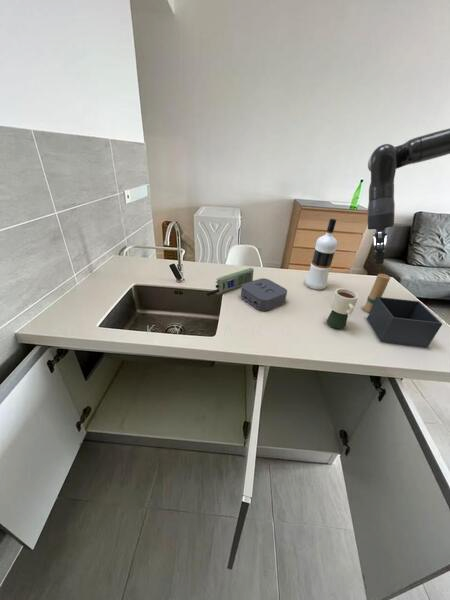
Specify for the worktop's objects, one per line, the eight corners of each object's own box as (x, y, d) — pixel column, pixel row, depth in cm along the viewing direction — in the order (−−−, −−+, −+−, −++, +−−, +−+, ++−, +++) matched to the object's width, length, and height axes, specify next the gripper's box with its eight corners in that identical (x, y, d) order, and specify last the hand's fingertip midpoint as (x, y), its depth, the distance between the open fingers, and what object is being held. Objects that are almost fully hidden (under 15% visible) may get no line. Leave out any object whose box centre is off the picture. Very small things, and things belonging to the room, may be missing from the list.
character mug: (352, 334, 82) (366, 302, 75) (332, 334, 81) (344, 302, 75) (338, 316, 91) (348, 285, 84) (319, 316, 91) (329, 285, 84)
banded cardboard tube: (372, 308, 97) (387, 274, 90) (377, 314, 94) (393, 279, 86) (361, 306, 98) (375, 272, 90) (365, 312, 94) (380, 278, 86)
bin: (407, 323, 89) (419, 301, 84) (427, 347, 78) (442, 323, 73) (366, 318, 91) (376, 296, 86) (381, 341, 79) (393, 318, 74)
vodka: (300, 281, 114) (316, 216, 99) (317, 280, 117) (335, 215, 101) (312, 291, 107) (331, 222, 91) (330, 289, 109) (351, 221, 94)
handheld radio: (253, 282, 111) (209, 298, 97) (248, 280, 113) (204, 295, 99) (254, 269, 108) (209, 283, 94) (249, 267, 110) (204, 280, 96)
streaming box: (288, 302, 98) (290, 291, 95) (262, 313, 90) (263, 301, 88) (263, 287, 108) (264, 277, 105) (237, 296, 100) (238, 285, 97)
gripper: (395, 210, 73) (393, 264, 76) (393, 212, 84) (392, 259, 88) (366, 214, 77) (365, 265, 81) (368, 216, 89) (368, 261, 92)
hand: (379, 262), depth 84 cm, fingers open, 8 cm apart
